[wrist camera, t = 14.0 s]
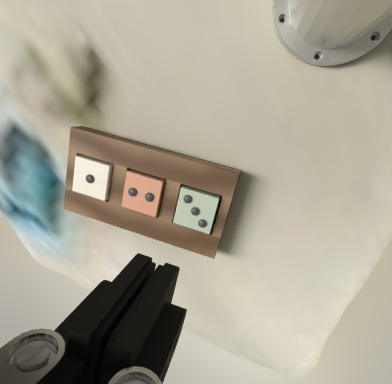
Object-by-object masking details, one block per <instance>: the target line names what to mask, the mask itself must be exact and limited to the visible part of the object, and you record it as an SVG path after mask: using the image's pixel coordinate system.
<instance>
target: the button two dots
mask: <svg viewBox="0 0 392 384" xmlns="http://www.w3.org/2000/svg"><path fill="white" fill-rule="evenodd" d="M166 180H167V179H164V178H160V177H157V176H154V175H150V174H147V173H143V172H140V171H137V170H133V169H131V170H129V171H127V173H126V179H125V185H124V191H123V198H122V204H121V206H122V207H125V208H128V209H132V210H135V211H138V212H141V213H144V214H147V215H150V216H153V217H156V216H157V215H158V214H159V213H160V209H161V204H162V199H163V195H164V190H165V185H166Z"/></svg>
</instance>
